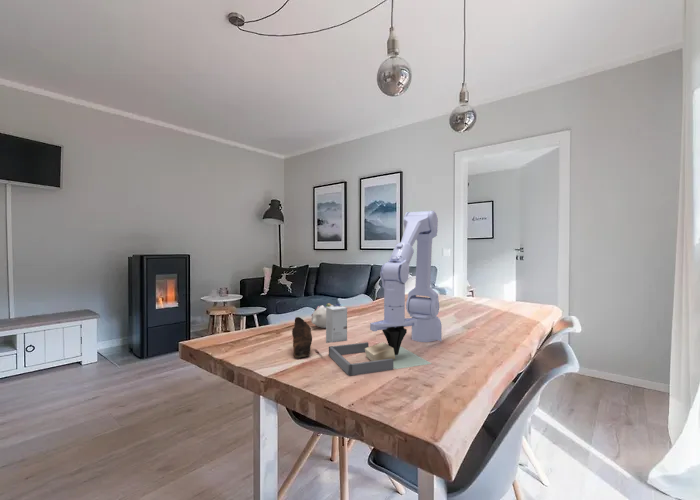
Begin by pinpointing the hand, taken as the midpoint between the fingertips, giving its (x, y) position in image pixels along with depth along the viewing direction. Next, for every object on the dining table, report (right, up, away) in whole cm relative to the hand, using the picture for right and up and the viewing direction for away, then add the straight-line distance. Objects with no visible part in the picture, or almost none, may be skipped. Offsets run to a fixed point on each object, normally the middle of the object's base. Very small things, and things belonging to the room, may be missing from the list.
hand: (394, 353), depth 92 cm
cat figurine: (-23, -2, +42) cm, 47 cm away
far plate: (+1, -2, +1) cm, 3 cm away
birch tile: (-4, -1, -1) cm, 4 cm away
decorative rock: (-27, -3, +9) cm, 29 cm away
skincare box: (-17, -3, +18) cm, 25 cm away
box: (-10, -2, -4) cm, 11 cm away
